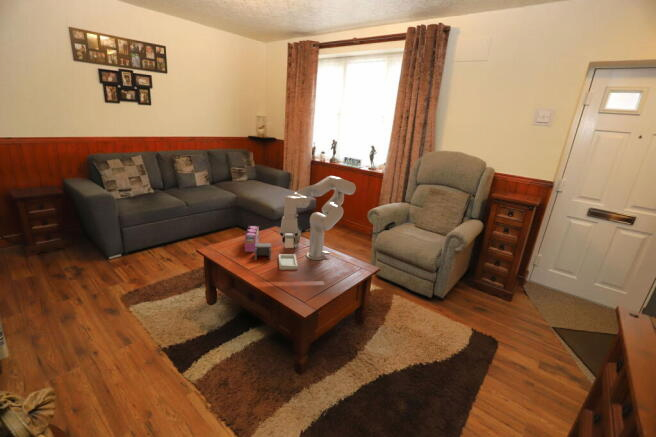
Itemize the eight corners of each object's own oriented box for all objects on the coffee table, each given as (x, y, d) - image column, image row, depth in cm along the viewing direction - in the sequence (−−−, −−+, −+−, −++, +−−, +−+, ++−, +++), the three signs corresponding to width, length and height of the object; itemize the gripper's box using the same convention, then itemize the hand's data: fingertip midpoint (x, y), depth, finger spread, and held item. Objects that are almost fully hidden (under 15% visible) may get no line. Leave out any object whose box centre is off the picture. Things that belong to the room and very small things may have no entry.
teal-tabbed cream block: (291, 240, 208) (291, 231, 207) (293, 247, 196) (293, 238, 194) (283, 240, 207) (284, 231, 205) (285, 247, 195) (285, 238, 193)
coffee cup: (298, 250, 227) (299, 231, 223) (283, 248, 229) (284, 228, 225) (302, 245, 238) (304, 226, 234) (288, 243, 240) (289, 224, 236)
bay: (270, 254, 216) (270, 243, 214) (270, 259, 208) (271, 247, 206) (255, 254, 214) (255, 243, 212) (254, 259, 206) (254, 247, 204)
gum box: (249, 240, 238) (249, 224, 235) (258, 241, 239) (259, 225, 236) (244, 252, 217) (244, 234, 214) (255, 252, 218) (255, 235, 214)
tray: (295, 257, 215) (295, 254, 214) (297, 269, 198) (297, 265, 197) (278, 257, 213) (278, 254, 212) (279, 269, 195) (279, 265, 195)
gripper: (302, 214, 201) (301, 241, 206) (276, 213, 198) (274, 240, 203) (304, 217, 194) (302, 245, 199) (276, 216, 191) (275, 244, 196)
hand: (288, 242), depth 201 cm, fingers closed on teal-tabbed cream block, 5 cm apart
